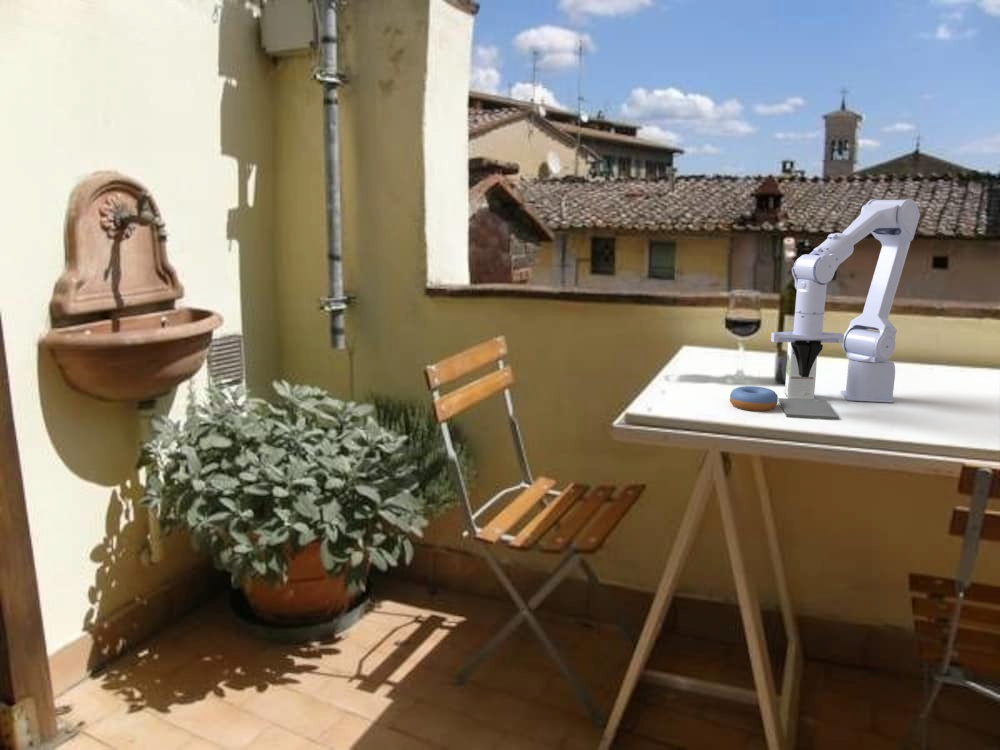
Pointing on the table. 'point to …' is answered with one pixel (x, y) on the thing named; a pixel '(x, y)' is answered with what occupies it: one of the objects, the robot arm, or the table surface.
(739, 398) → the doughnut
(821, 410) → the mat
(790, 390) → the syrup box
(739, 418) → the table surface
